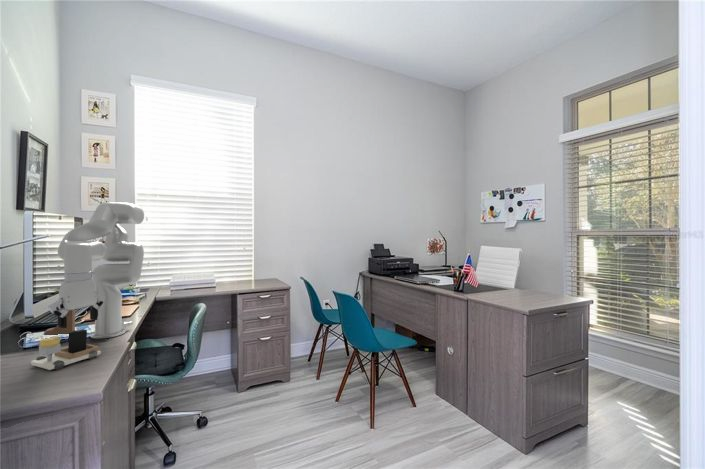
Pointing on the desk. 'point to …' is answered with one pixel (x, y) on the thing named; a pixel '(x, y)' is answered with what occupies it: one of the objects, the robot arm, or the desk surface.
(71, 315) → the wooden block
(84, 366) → the desk surface
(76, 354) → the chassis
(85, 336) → the ink cartridge
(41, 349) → the yellow white block
